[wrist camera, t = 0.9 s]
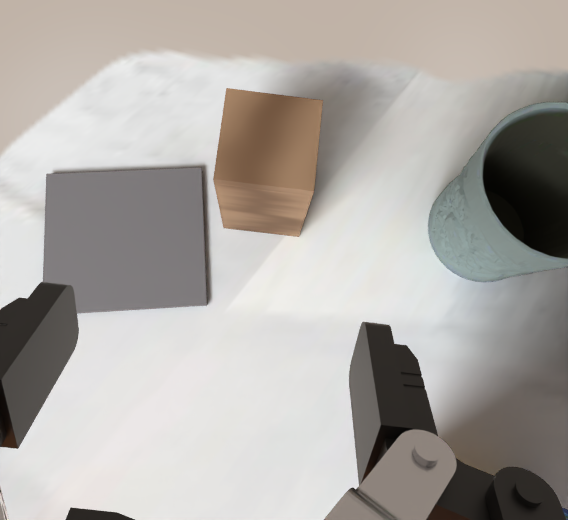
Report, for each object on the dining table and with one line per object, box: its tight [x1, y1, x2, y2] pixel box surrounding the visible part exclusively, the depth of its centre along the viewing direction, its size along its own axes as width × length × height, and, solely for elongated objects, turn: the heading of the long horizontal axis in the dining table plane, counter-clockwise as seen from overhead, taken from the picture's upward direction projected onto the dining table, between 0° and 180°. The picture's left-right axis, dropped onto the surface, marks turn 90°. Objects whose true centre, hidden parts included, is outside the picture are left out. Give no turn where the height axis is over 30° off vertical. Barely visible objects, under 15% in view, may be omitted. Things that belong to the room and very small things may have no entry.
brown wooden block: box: [213, 88, 323, 237], centre depth 36 cm, size 6×6×10 cm
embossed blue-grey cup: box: [428, 102, 568, 282], centre depth 35 cm, size 10×10×12 cm
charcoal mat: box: [43, 167, 207, 313], centre depth 39 cm, size 12×11×1 cm
